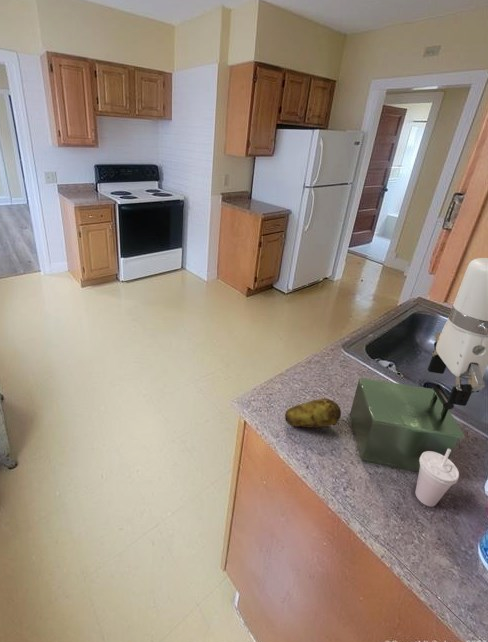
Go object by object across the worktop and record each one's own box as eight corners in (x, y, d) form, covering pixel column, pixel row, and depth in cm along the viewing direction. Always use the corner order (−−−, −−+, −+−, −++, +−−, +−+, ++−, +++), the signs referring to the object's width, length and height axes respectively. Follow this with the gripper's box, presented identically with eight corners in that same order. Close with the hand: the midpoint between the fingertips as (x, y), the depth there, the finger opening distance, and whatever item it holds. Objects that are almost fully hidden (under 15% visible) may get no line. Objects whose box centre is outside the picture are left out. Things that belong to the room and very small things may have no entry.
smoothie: (451, 514, 64) (476, 466, 58) (419, 513, 64) (440, 465, 59) (431, 482, 70) (451, 435, 64) (401, 481, 70) (419, 434, 64)
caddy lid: (434, 391, 79) (441, 374, 77) (463, 439, 66) (472, 419, 64) (358, 379, 82) (363, 362, 80) (372, 422, 70) (378, 403, 67)
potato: (287, 405, 89) (291, 382, 86) (337, 420, 84) (343, 397, 81) (282, 428, 82) (286, 404, 79) (336, 446, 77) (342, 422, 74)
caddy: (417, 426, 83) (430, 391, 79) (441, 476, 71) (458, 438, 66) (349, 414, 86) (358, 380, 82) (361, 460, 74) (372, 422, 70)
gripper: (524, 348, 55) (487, 422, 62) (470, 302, 71) (445, 364, 77) (475, 342, 57) (444, 414, 63) (433, 297, 72) (411, 359, 79)
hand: (445, 386), depth 70 cm, fingers open, 9 cm apart
